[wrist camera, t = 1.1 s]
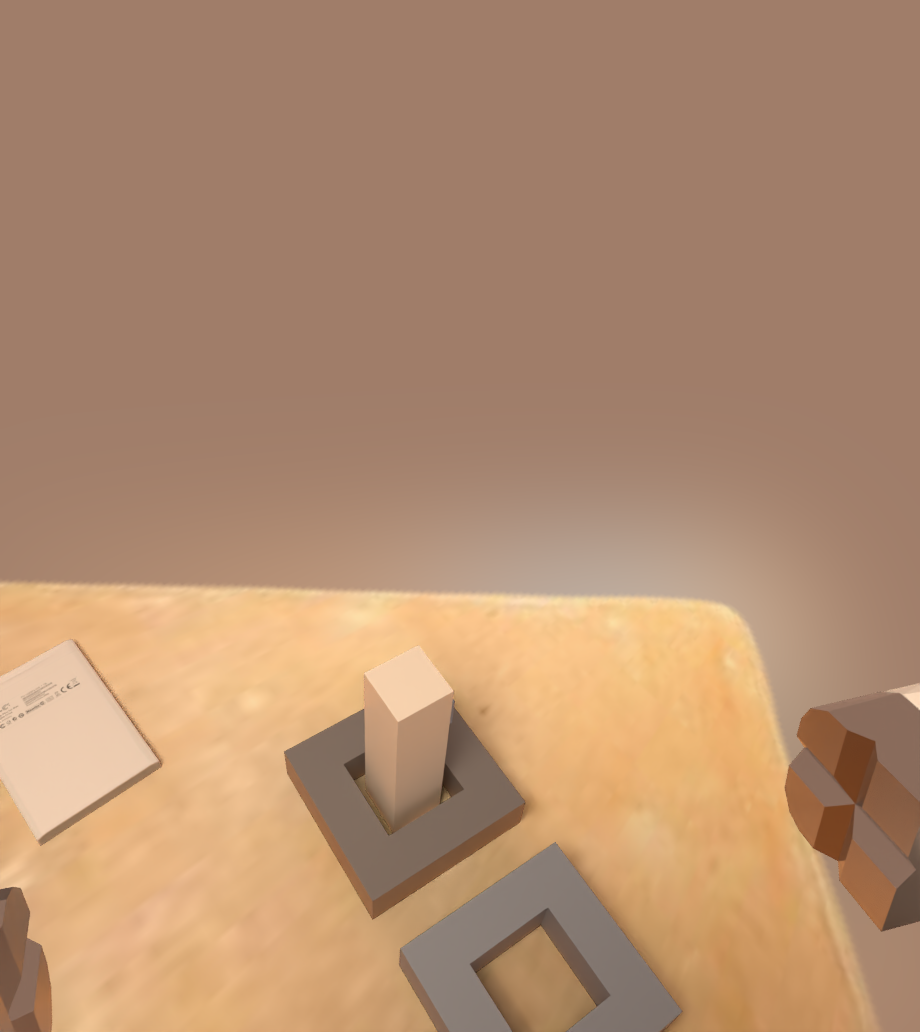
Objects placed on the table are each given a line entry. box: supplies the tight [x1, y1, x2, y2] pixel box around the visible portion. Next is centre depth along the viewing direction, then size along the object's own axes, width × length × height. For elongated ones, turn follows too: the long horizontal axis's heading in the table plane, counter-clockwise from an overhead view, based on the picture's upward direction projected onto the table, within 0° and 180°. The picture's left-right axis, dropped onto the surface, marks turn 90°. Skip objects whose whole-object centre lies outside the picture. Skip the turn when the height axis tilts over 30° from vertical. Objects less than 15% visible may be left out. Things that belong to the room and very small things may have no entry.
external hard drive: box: [0, 639, 162, 846], centre depth 59 cm, size 2×8×12 cm
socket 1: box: [284, 708, 525, 919], centre depth 56 cm, size 11×11×3 cm
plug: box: [364, 645, 455, 833], centre depth 53 cm, size 4×4×14 cm
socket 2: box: [399, 842, 682, 1032], centre depth 49 cm, size 11×11×3 cm
